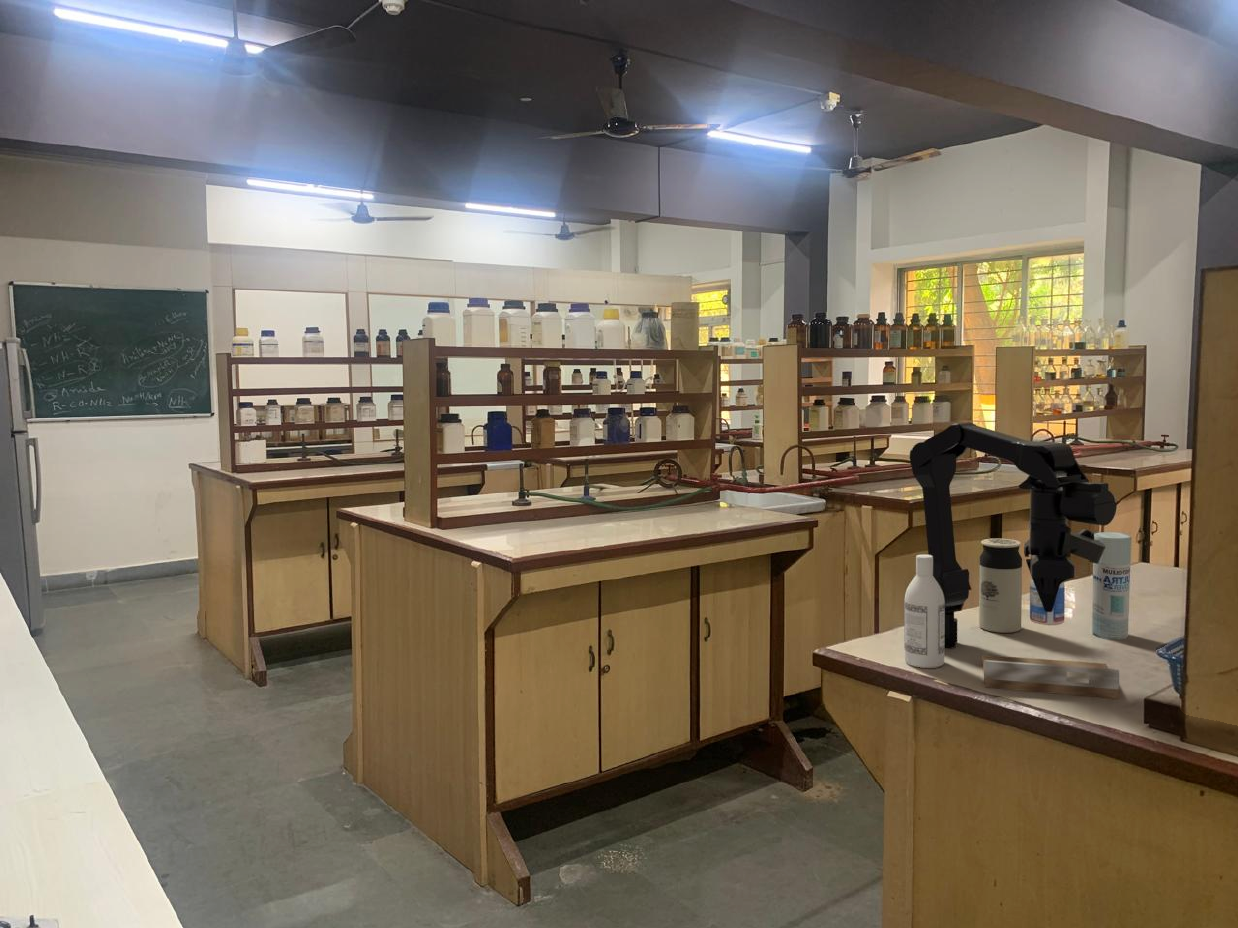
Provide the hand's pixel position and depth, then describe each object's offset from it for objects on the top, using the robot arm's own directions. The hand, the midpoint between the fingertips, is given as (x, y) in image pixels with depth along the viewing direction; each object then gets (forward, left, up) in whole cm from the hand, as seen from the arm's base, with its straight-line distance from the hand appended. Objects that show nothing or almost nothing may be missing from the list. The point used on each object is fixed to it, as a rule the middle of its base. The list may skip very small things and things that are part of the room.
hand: (1046, 607), depth 155 cm
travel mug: (-6, +29, -13) cm, 32 cm away
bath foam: (-20, +3, -13) cm, 24 cm away
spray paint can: (+14, +29, -13) cm, 35 cm away
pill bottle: (0, 0, -3) cm, 3 cm away
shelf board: (0, -1, -12) cm, 12 cm away
